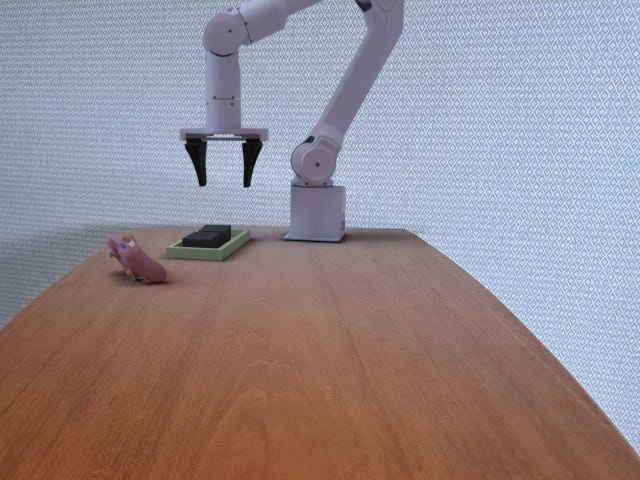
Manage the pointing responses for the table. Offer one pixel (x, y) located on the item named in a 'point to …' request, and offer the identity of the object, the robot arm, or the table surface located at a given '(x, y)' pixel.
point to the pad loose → (219, 231)
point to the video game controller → (134, 258)
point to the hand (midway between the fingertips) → (224, 186)
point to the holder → (208, 253)
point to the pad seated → (202, 240)
